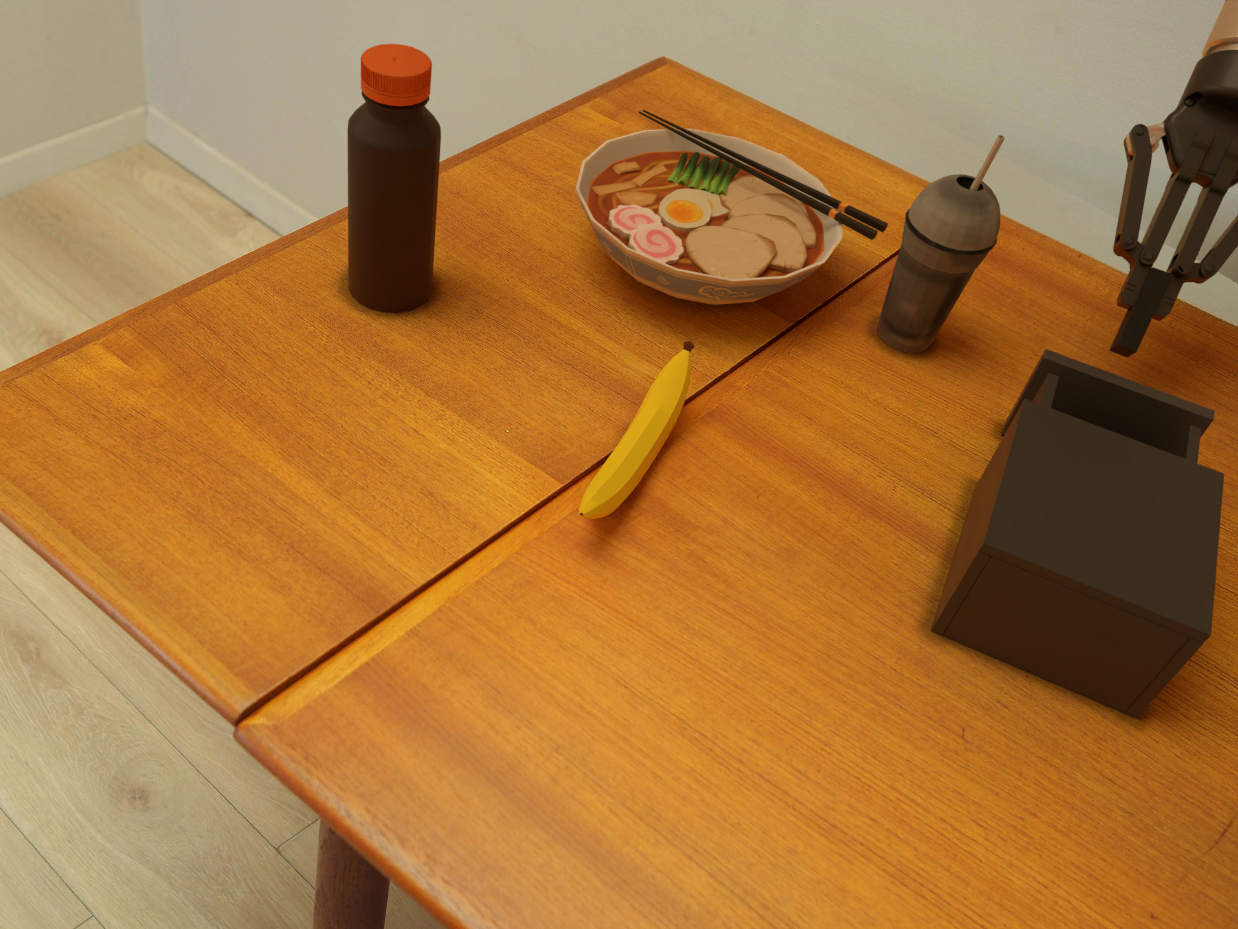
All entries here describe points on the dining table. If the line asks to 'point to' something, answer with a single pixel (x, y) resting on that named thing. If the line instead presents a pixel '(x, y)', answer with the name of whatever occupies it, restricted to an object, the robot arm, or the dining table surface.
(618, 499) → the banana
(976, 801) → the dining table surface
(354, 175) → the bottle
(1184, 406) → the drawer
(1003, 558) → the cabinet
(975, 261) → the beverage cup
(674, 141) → the ramen bowl
